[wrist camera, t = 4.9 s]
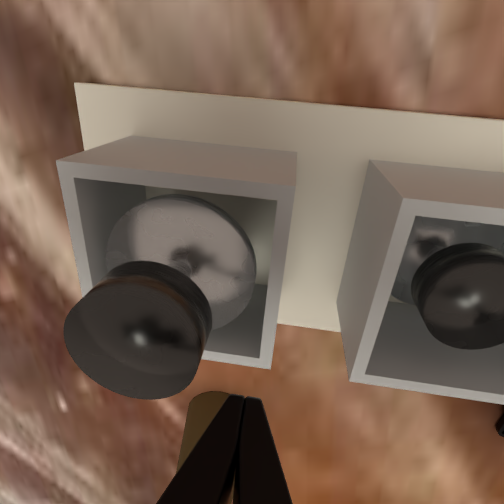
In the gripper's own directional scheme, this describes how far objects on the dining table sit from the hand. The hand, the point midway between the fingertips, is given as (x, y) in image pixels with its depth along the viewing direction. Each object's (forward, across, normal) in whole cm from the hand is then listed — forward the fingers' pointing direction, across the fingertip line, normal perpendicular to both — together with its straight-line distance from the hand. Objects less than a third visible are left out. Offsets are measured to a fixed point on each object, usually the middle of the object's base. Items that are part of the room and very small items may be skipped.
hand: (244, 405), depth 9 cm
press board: (+14, -3, 0) cm, 14 cm away
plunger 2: (+12, -9, 0) cm, 15 cm away
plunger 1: (+7, +4, +1) cm, 8 cm away
